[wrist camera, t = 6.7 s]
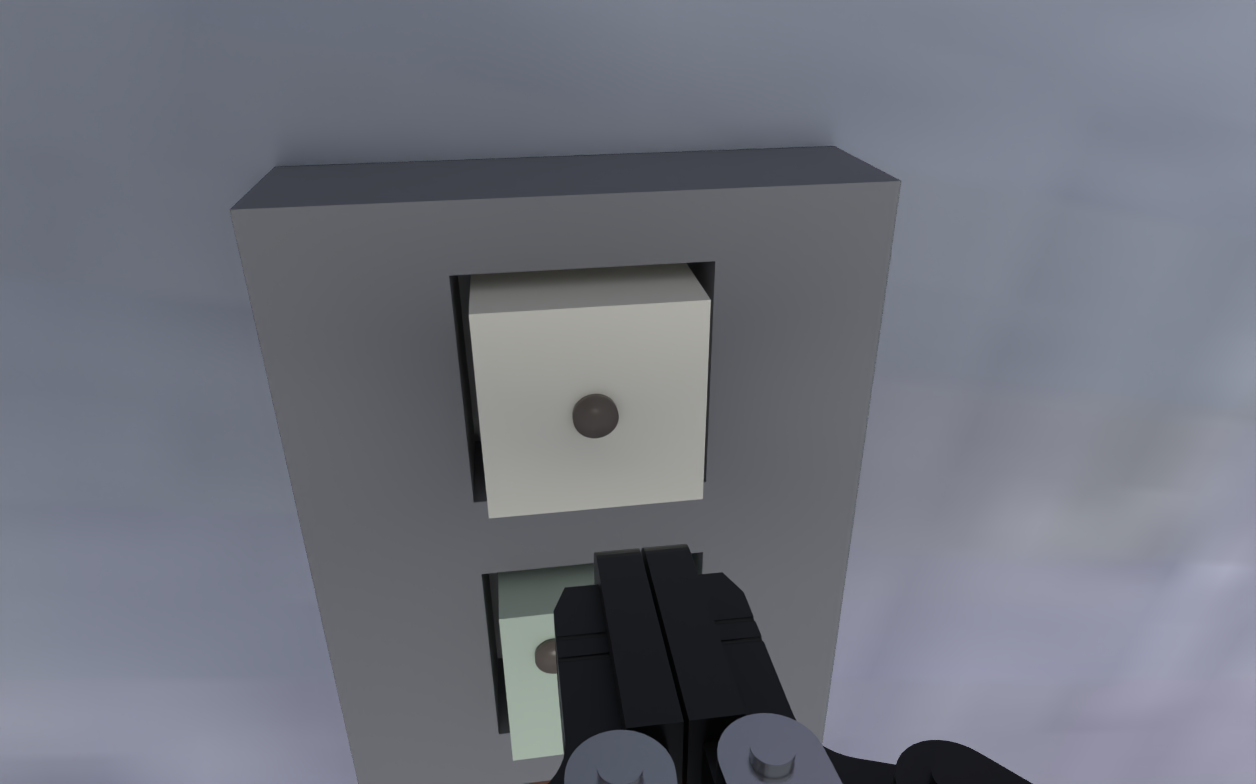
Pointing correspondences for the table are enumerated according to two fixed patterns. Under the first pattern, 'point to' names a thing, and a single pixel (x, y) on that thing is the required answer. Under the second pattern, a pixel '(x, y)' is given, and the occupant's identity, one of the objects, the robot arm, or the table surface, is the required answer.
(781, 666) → the button board
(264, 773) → the table surface
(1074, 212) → the table surface
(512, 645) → the two dot tile
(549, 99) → the table surface
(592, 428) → the one dot tile
